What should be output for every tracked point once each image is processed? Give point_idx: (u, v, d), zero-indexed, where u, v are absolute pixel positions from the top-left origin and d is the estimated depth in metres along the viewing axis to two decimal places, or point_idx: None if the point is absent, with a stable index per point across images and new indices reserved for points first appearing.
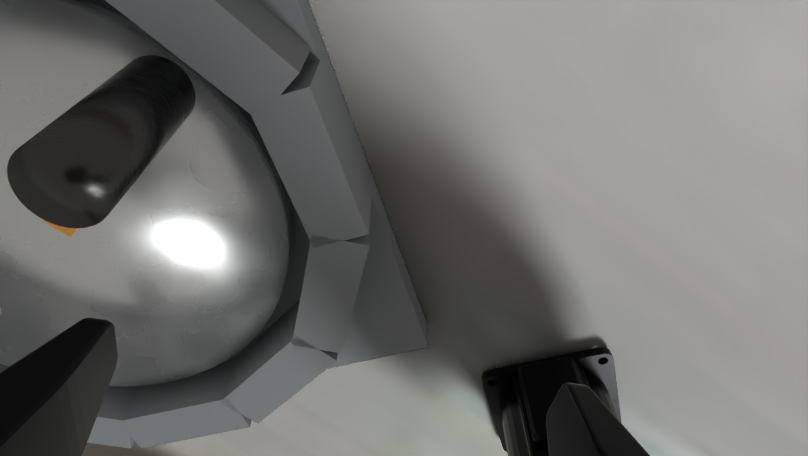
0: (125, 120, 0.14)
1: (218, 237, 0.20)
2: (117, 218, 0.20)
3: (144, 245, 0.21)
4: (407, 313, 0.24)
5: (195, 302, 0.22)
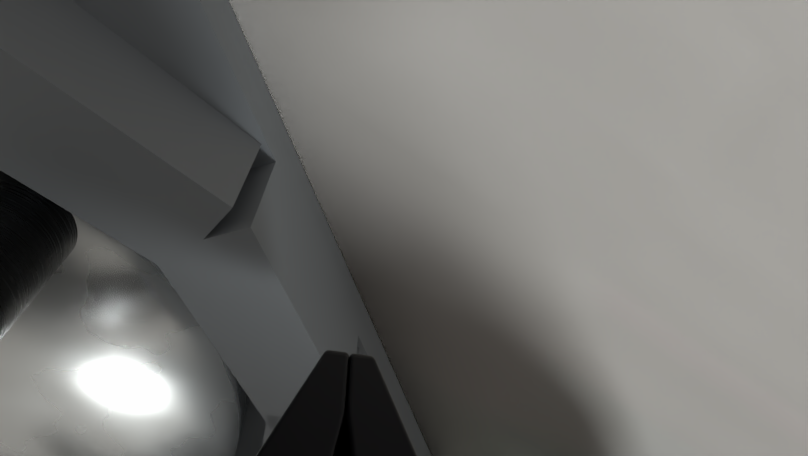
0: None
1: (135, 402, 0.14)
2: None
3: (30, 412, 0.14)
4: None
5: None
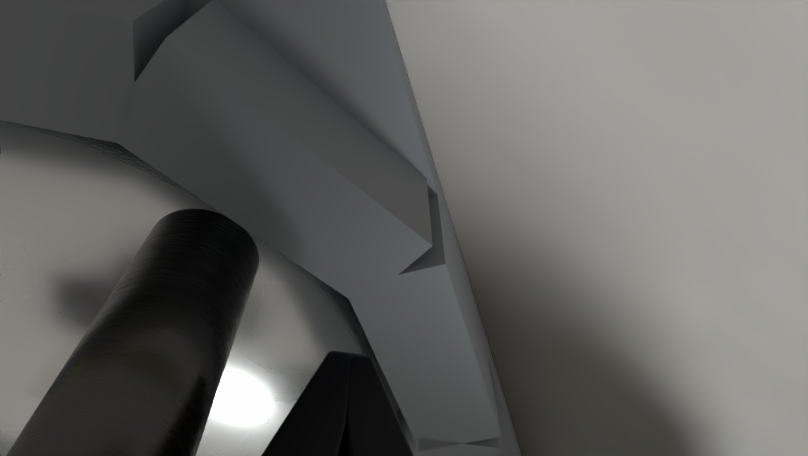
0: (168, 388, 0.08)
1: (278, 423, 0.14)
2: None
3: None
4: None
5: None
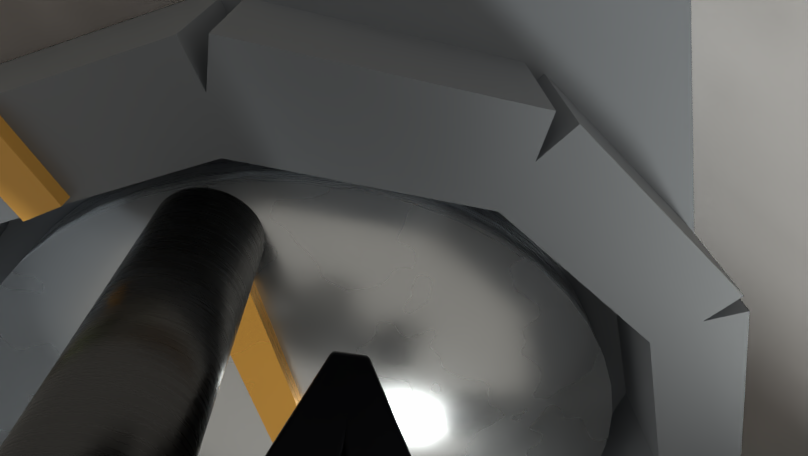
0: (103, 340, 0.07)
1: (444, 328, 0.13)
2: None
3: (387, 398, 0.14)
4: None
5: (502, 412, 0.15)
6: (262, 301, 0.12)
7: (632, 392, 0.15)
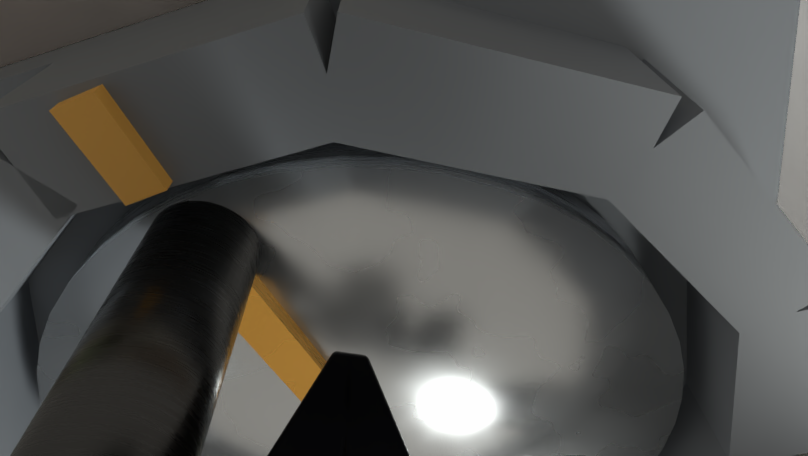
0: (80, 367, 0.07)
1: (467, 289, 0.12)
2: (379, 378, 0.14)
3: (433, 373, 0.14)
4: None
5: (557, 364, 0.14)
6: (277, 300, 0.12)
7: (697, 382, 0.15)
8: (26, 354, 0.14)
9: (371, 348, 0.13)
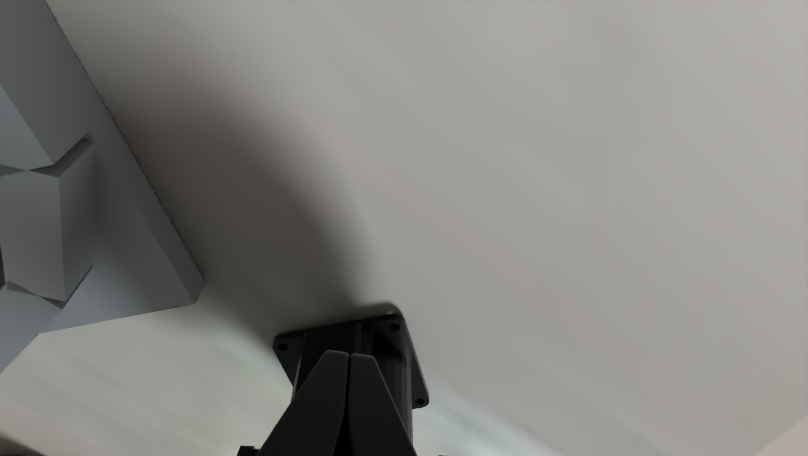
0: None
1: None
2: None
3: None
4: (163, 264, 0.23)
5: None
6: None
7: None
8: None
9: None
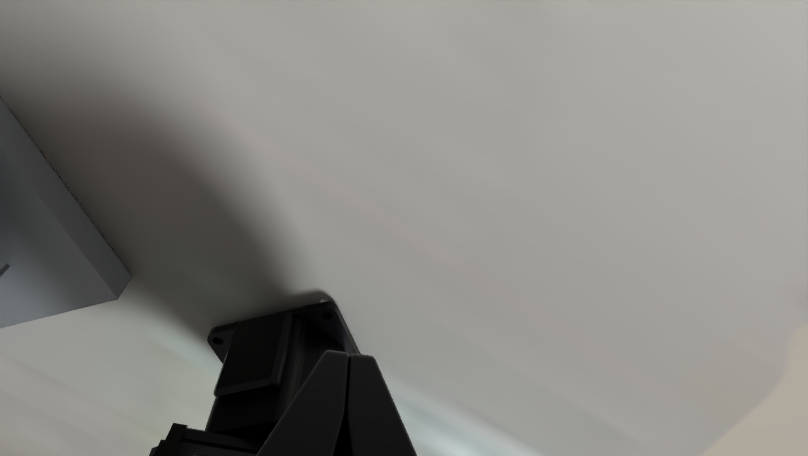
0: None
1: None
2: None
3: None
4: (79, 259, 0.23)
5: None
6: None
7: None
8: None
9: None
